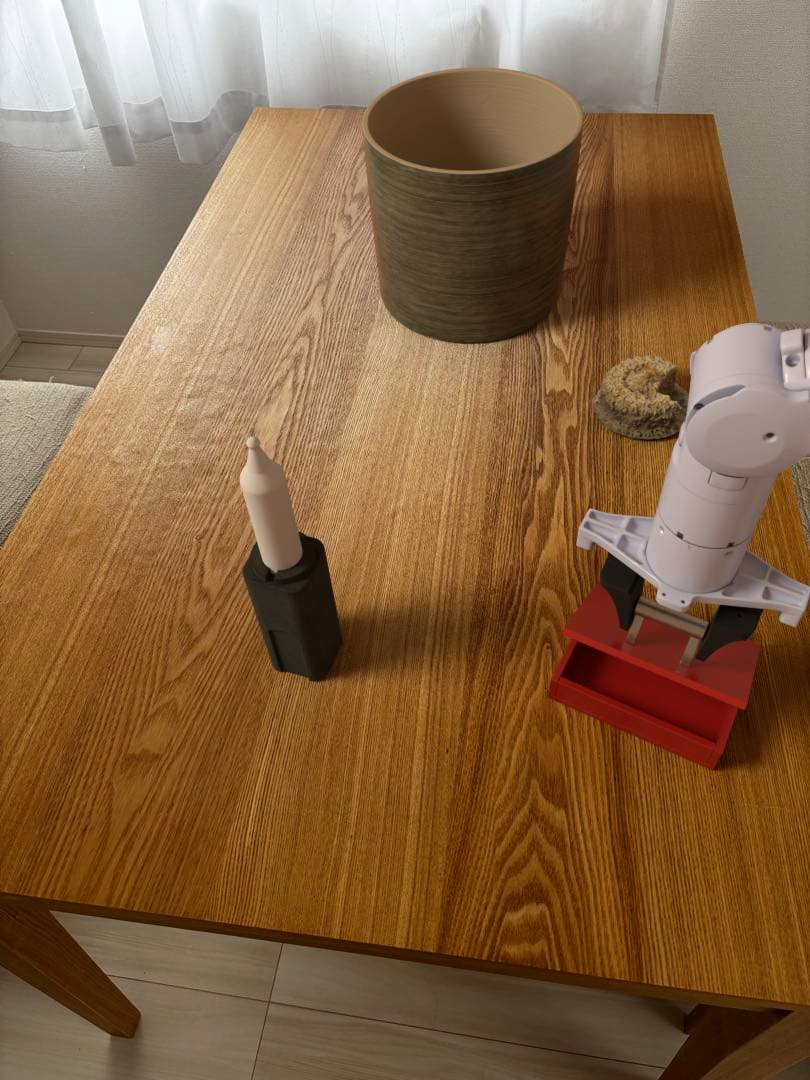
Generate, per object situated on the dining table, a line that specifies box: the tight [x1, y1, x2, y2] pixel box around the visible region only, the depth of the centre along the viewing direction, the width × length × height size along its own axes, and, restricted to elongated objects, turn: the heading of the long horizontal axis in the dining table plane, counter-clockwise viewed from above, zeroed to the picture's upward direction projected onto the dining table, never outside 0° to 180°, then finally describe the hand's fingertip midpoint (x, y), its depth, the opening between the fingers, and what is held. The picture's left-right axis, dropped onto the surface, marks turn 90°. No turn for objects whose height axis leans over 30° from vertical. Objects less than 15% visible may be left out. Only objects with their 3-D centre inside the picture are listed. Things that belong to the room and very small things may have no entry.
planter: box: [361, 66, 585, 344], centre depth 95 cm, size 22×22×20 cm
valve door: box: [561, 581, 762, 711], centre depth 64 cm, size 10×13×4 cm
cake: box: [592, 354, 689, 440], centre depth 87 cm, size 10×10×5 cm
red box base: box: [547, 638, 739, 771], centre depth 68 cm, size 10×13×3 cm
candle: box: [239, 435, 344, 682], centre depth 63 cm, size 5×5×25 cm
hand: (664, 634), depth 62 cm, fingers closed on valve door, 5 cm apart
